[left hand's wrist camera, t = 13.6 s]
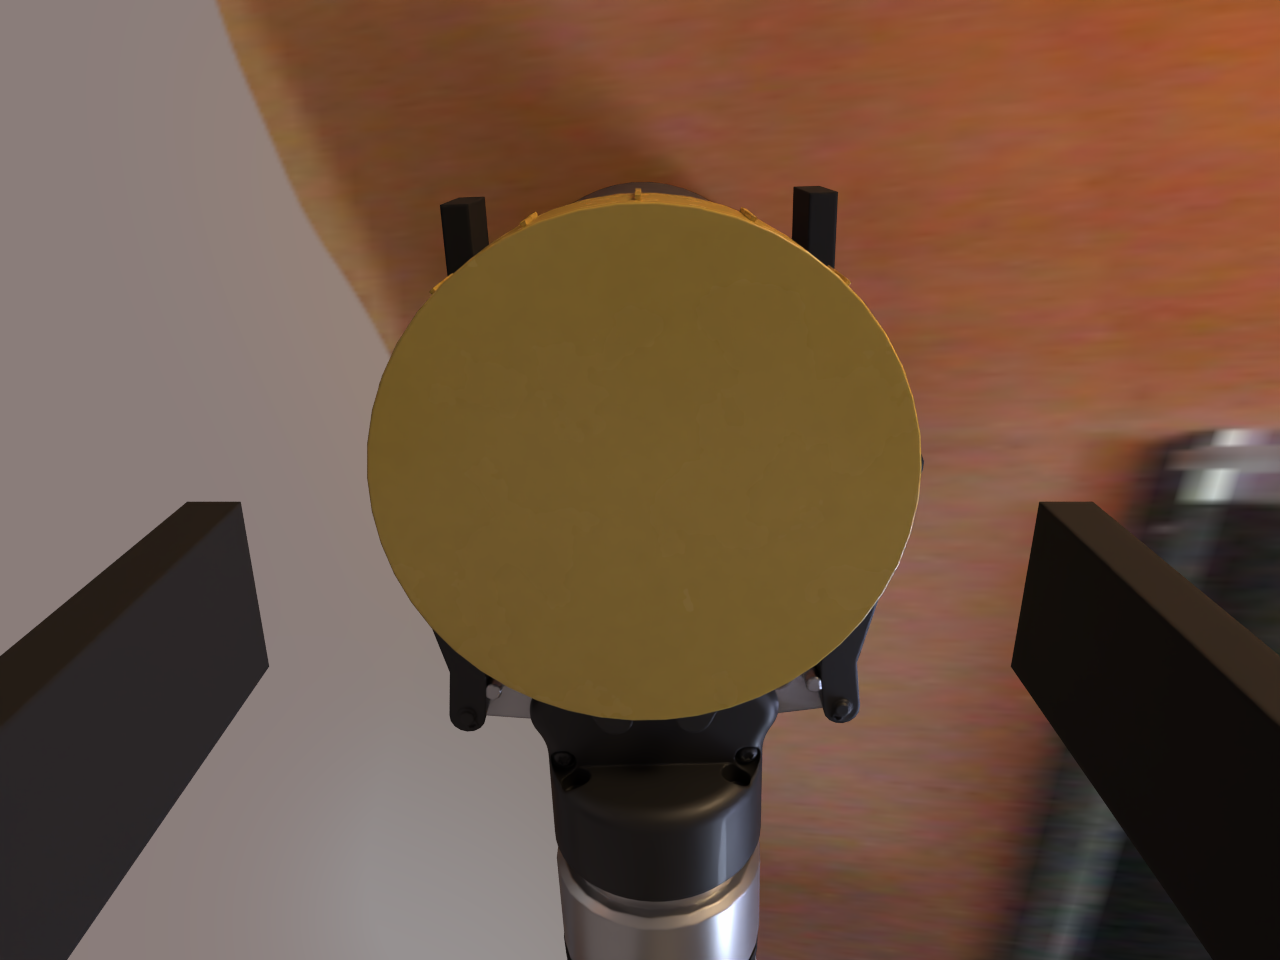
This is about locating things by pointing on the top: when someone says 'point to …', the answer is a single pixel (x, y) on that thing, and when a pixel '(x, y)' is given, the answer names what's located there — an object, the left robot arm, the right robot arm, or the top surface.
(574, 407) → the lid
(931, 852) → the top surface
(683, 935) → the right robot arm
